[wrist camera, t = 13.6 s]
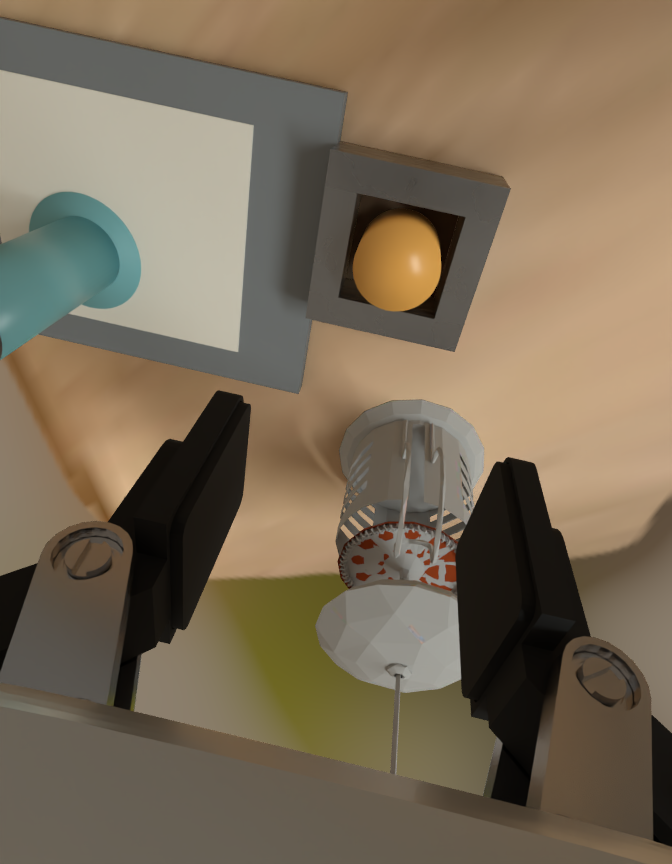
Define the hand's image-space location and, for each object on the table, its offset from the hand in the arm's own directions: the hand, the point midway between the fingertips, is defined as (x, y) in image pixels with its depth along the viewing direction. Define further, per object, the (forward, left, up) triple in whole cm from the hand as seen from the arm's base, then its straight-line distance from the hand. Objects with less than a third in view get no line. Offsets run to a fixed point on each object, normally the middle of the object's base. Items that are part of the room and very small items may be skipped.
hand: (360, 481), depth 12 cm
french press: (-4, +13, -20) cm, 24 cm away
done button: (0, 0, -18) cm, 18 cm away
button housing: (0, 0, -19) cm, 19 cm away
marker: (+17, +4, -18) cm, 25 cm away
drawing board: (+14, +2, -19) cm, 24 cm away
